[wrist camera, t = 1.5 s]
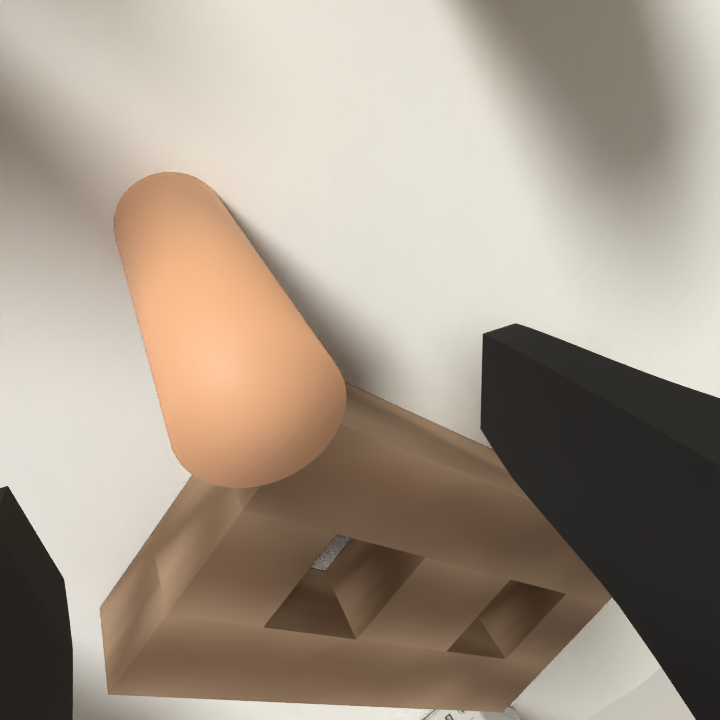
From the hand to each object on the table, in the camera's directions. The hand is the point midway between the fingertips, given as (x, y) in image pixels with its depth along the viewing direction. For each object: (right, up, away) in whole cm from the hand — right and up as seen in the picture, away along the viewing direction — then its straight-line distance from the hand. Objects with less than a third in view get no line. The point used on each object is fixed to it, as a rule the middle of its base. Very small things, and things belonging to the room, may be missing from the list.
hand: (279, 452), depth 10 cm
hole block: (+3, -7, +19) cm, 21 cm away
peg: (-4, +5, +8) cm, 10 cm away
